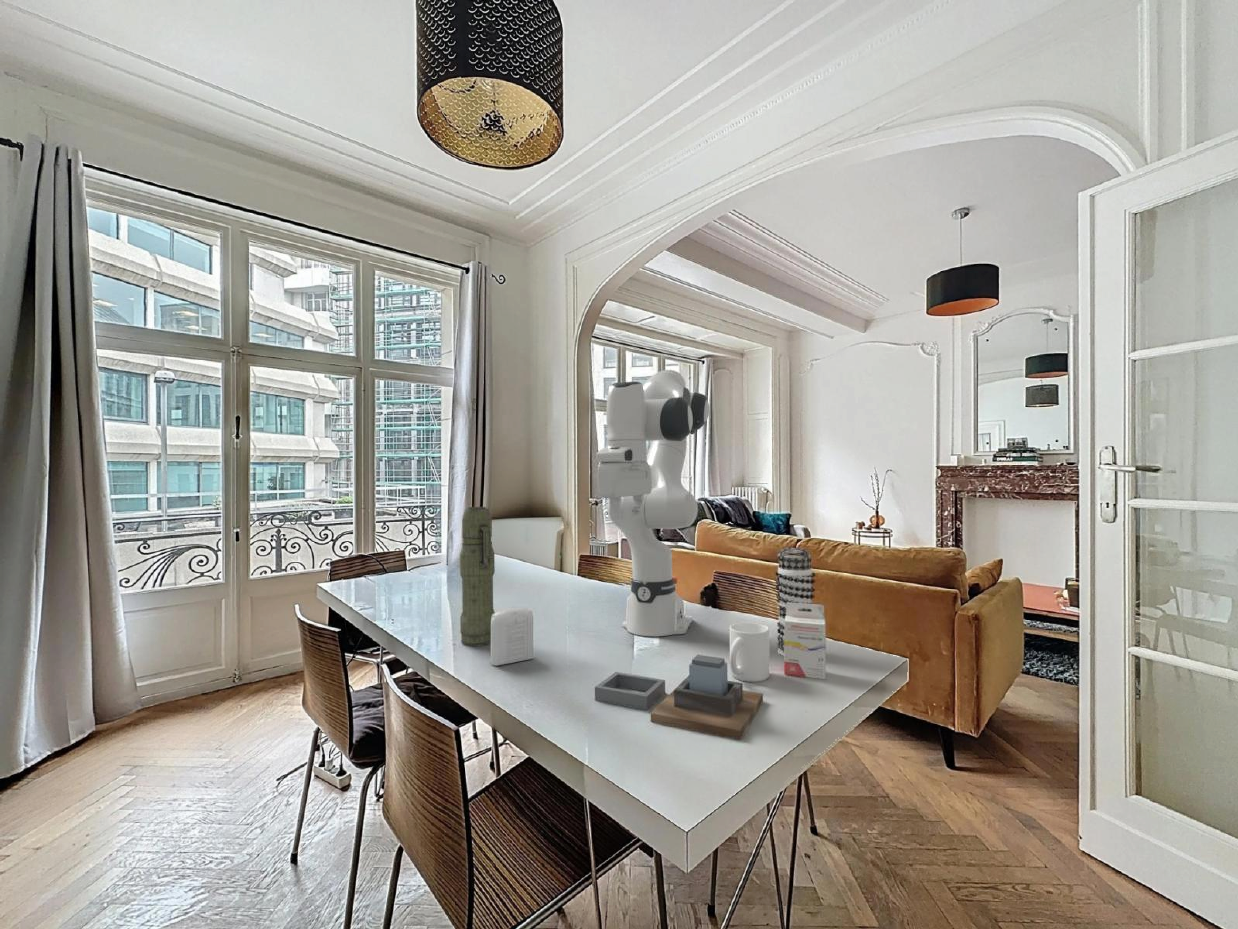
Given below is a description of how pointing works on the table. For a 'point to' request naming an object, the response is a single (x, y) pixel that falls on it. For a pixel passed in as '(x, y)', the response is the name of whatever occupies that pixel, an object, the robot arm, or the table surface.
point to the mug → (749, 652)
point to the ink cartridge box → (805, 641)
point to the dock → (709, 710)
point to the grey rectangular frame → (629, 698)
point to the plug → (708, 675)
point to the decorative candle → (793, 584)
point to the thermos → (476, 576)
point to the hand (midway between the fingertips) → (627, 516)
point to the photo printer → (511, 636)
